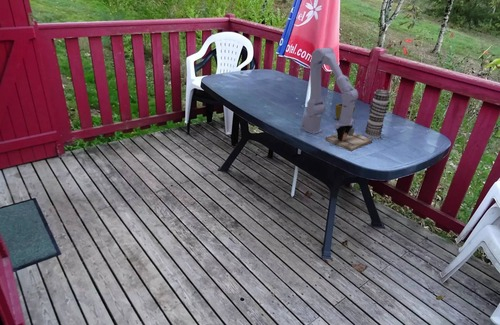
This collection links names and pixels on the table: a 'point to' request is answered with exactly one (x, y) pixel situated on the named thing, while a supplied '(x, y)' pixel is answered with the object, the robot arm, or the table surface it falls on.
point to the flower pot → (338, 110)
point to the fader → (351, 131)
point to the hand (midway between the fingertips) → (341, 138)
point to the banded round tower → (377, 113)
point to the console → (350, 141)
